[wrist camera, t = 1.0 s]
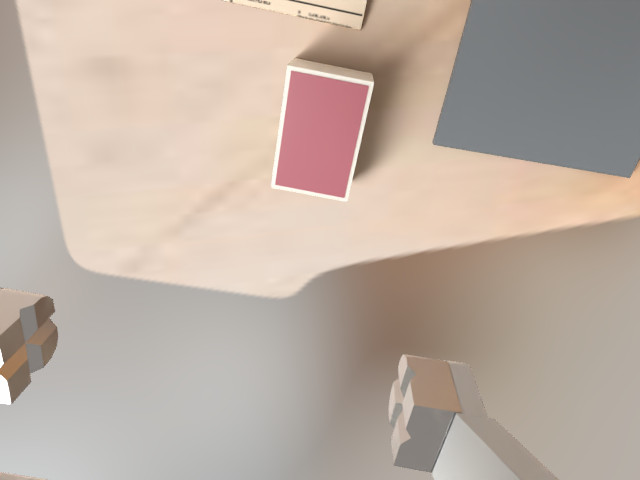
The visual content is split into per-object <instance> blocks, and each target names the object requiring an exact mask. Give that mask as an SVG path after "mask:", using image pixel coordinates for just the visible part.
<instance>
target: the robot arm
mask: <svg viewBox="0 0 640 480" xmlns="http://www.w3.org/2000/svg"><path fill="white" fill-rule="evenodd" d="M54 312H55V309H54V303H53V299H51V298H50V297H48V296H45V295H40V294H34V293H29V292H24V291H18V290H12V289H7V288H5V289H4V288H0V403H6V404H12V403H13V402H14V401H15V400H16V398H17V397H18V396H19V395H20V394H21V393H22V392H23V391H24V390H25V388H26V387H27V386H28V385H29V384H30V383H31V373H33V372H35V371H37V370H39V369H41V368H44V366H45V365H46V364H47V363H48V362H49V360H50V359H51V358H52V356H53V353H54V351H55V349H56V346H57V341H58V331H57V327H56V325H55V324H54V323H53V322H52V321H51V319H50V317H51V316H52V315H53V313H54ZM398 373H399V378H398V379H397V380H395V381H394V382H393V385H392V389H391V393H390V399H389V423H390V424H391V425H392V427H393V428H394V431H393V434H392V438H391V444H392V445H391V446H392V455H393V464H394V466H399V467H404V468H410V469H415V470H420V471H426V472H431V473H432V476H433V478H434V479H435V480H559V479H558V478H557V477H555V475H553V474H552V473H551V472H550V471H549V470H548V469H547V468H546V467H545V466H544V465H543V464H542V463H541V462H540V461H538V459H537V458H535V457H534V456H533V455H532V454H531V453H530V452H529V451H528V450H527V449H526V448H525V447H524V446H523V445H521V443H519V442H518V441H517V440H516V439H515V438H514V437H513V436H512V435H511V434H510V433H509V432H508V431H507V430H506V429H505V428H504V427H502V426H501V425H500V424H499V423H498V422H497V421H496V420H495V419H491V418H488V416H487V413H486V410H485V407H484V405H483V402H482V399H481V396H480V393H479V390H478V387H477V384H476V381H475V379H474V376H473V373H472V370H471V367H470V366H469V365H468V364H467V363H461V362H454V361H443V360H436V359H430V358H424V357H417V356H411V355H405V354H403V356H402V357H401V359H400V362H399V365H398ZM0 480H47V479H40V478H34V477H27V476H21V475H15V474H9V473H2V472H0Z"/></svg>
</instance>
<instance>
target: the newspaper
mask: <svg viewBox="0 0 640 480" xmlns="http://www.w3.org/2000/svg"><path fill="white" fill-rule="evenodd" d="M222 1H227V2H231V3H236V4H241V5H245V6H250V7H255V8H259V9H264V10H269V11H273V12H278V13H282V14H287V15H292V16H296V17H301V18H306V19H310V20H315V21H320V22H324V23H329V24H334V25H338V26H343V27H348V28H352V29H357V30H361V26H362V21H363V17H364V12H365V7H366V3H367V0H222Z"/></svg>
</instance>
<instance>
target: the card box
mask: <svg viewBox="0 0 640 480" xmlns="http://www.w3.org/2000/svg"><path fill="white" fill-rule="evenodd" d="M373 86H374V79H373V75H372V73H368V72H363V71H358V70H353V69H348V68H343V67H338V66H332V65H327V64H322V63H317V62H312V61H307V60H302V59H297V58H294V59H293V60H292V61H291V62H290V63H289V64H288V65H287V73H286V80H285V87H284V95H283V102H282V109H281V116H280V124H279V131H278V138H277V146H276V153H275V160H274V168H273V175H272V182H271V188H277V189H282V190H287V191H292V192H297V193H303V194H308V195H313V196H318V197H324V198H329V199H334V200H339V201H344V202H347V201H348V197H349V192H350V188H351V184H352V179H353V175H354V170H355V166H356V161H357V157H358V152H359V148H360V144H361V139H362V135H363V130H364V126H365V121H366V117H367V113H368V108H369V104H370V99H371V95H372V90H373Z"/></svg>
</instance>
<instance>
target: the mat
mask: <svg viewBox="0 0 640 480" xmlns="http://www.w3.org/2000/svg"><path fill="white" fill-rule="evenodd" d="M433 144H434V145H438V146H444V147H450V148H456V149H462V150H468V151H474V152H480V153H485V154H491V155H497V156H503V157H509V158H515V159H521V160H527V161H533V162H538V163H544V164H550V165H556V166H562V167H568V168H574V169H580V170H586V171H591V172H597V173H603V174H609V175H615V176H621V177H627V178H630V177H631V175H632V173H633V171H634V169H635V167H636V165H637V163H638V161H639V159H640V0H472V1H471V5H470V8H469V12H468V16H467V19H466V23H465V26H464V30H463V34H462V37H461V41H460V45H459V48H458V52H457V56H456V59H455V63H454V66H453V70H452V74H451V77H450V81H449V85H448V88H447V92H446V96H445V99H444V103H443V107H442V110H441V114H440V117H439V121H438V125H437V128H436V132H435V136H434V139H433Z"/></svg>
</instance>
